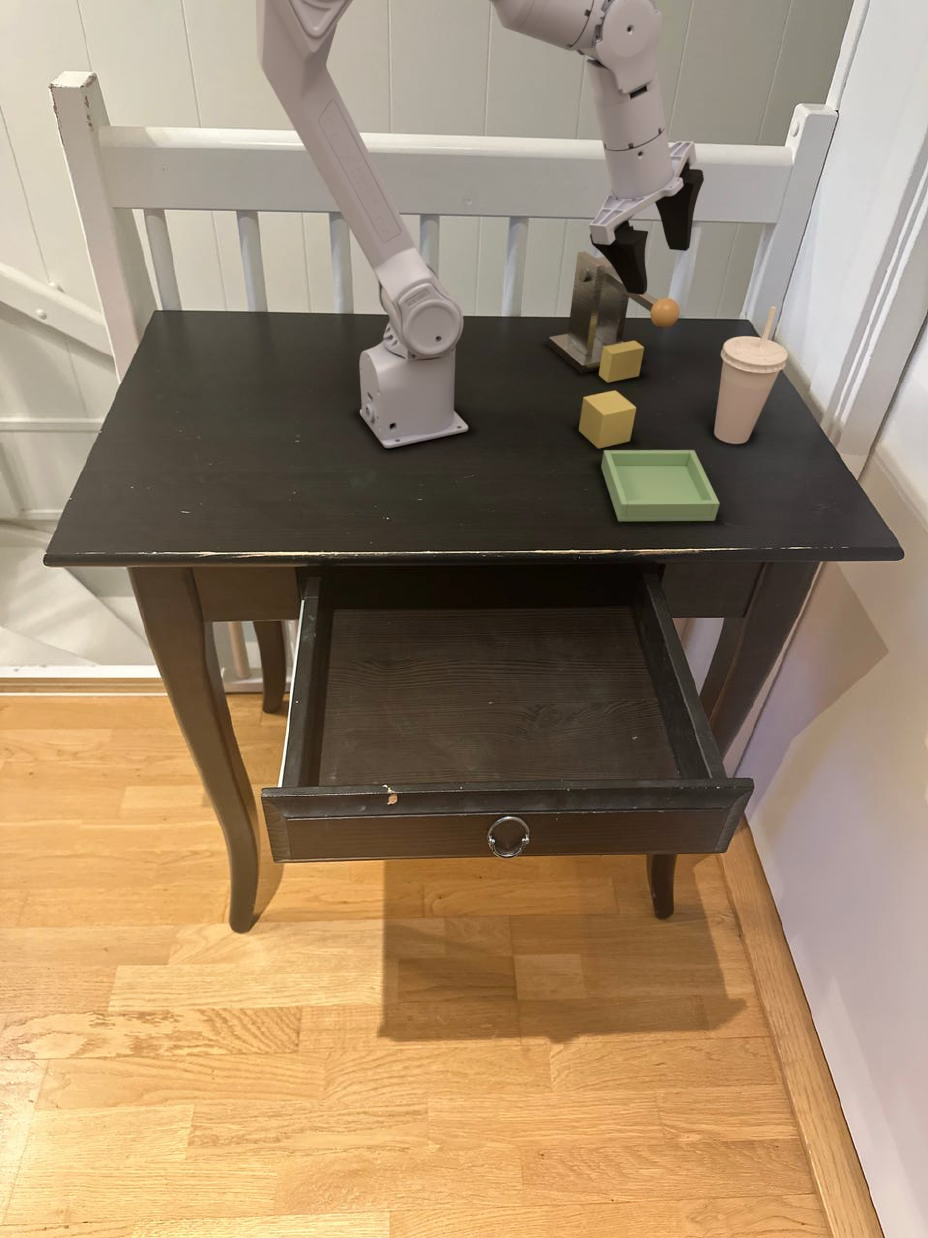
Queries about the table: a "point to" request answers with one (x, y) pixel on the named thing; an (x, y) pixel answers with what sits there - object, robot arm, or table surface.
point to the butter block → (621, 361)
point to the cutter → (591, 317)
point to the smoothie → (746, 382)
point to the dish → (658, 485)
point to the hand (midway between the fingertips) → (658, 269)
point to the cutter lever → (643, 299)
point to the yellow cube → (607, 419)
